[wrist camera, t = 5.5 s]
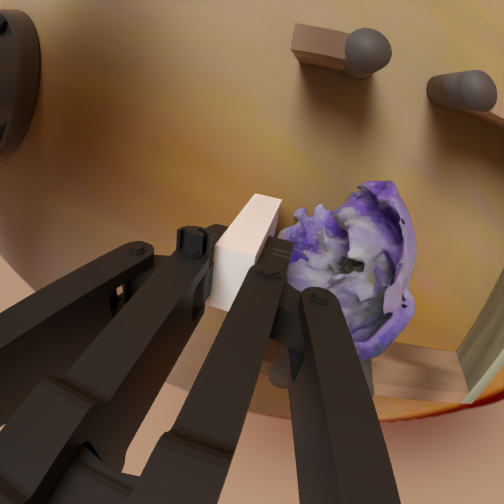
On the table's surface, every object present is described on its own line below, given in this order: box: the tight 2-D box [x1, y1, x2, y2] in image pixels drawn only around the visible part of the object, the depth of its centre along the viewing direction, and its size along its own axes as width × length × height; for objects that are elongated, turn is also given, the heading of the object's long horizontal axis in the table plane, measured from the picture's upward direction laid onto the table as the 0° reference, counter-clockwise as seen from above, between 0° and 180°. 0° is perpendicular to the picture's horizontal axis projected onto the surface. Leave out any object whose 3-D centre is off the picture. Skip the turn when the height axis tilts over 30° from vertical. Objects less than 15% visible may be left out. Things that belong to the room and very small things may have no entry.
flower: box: [277, 180, 416, 362], centre depth 16 cm, size 9×9×10 cm
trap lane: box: [259, 23, 504, 404], centre depth 15 cm, size 18×20×5 cm
